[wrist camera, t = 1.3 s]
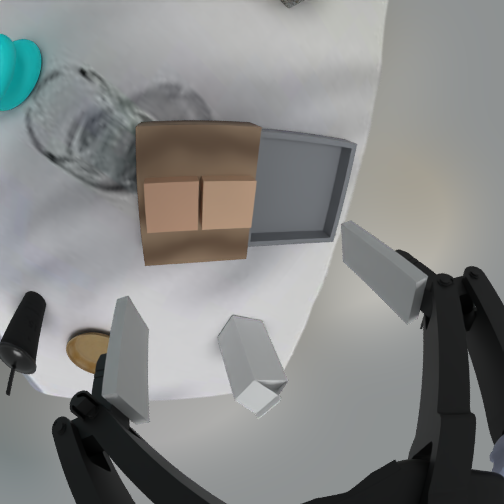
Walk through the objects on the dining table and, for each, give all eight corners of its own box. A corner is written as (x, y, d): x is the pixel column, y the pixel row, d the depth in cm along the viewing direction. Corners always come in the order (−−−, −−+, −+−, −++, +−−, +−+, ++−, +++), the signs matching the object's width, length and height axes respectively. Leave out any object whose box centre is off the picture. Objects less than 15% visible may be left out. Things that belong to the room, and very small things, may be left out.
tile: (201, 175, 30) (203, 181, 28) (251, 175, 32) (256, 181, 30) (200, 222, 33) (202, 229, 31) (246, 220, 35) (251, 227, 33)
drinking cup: (43, 321, 39) (23, 410, 23) (14, 299, 35) (-17, 387, 19) (58, 303, 38) (36, 401, 23) (27, 278, 34) (-10, 373, 18)
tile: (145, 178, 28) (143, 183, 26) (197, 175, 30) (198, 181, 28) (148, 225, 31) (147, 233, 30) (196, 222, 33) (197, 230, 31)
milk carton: (216, 337, 54) (240, 419, 39) (232, 314, 51) (262, 401, 36) (246, 341, 57) (273, 417, 42) (262, 320, 54) (297, 399, 39)
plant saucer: (95, 314, 42) (93, 324, 40) (147, 352, 51) (147, 362, 49) (56, 341, 43) (54, 350, 41) (104, 373, 52) (104, 382, 50)
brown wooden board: (140, 122, 28) (135, 126, 24) (249, 122, 32) (261, 127, 28) (146, 246, 38) (145, 265, 34) (237, 240, 42) (246, 258, 38)
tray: (250, 127, 33) (257, 130, 31) (345, 139, 37) (356, 144, 35) (239, 236, 42) (244, 246, 39) (324, 232, 46) (332, 241, 44)
